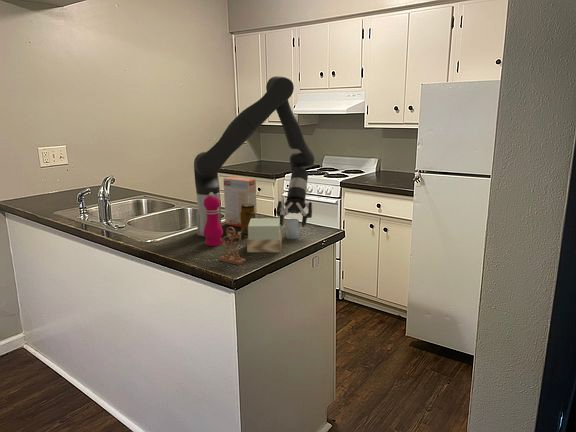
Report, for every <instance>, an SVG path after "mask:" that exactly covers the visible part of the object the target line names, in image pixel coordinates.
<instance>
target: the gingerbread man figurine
mask: <svg viewBox="0 0 576 432" xmlns="http://www.w3.org/2000/svg"><path fill="white" fill-rule="evenodd" d="M225 232H226V236H224V237H222V244H221V245H222V246H227V248H226V250H225V252H224V255H222V256H220V257H218V260H219V261H220V262H224V263H229V264H234V265H238V266H240V265H243V264H244V263H246V262H247V260H246V258H245V257H244V258H243V257H241V256H240V254H239V252H238V250H237V249H238V248H237V247H236V244H238V243H240V242H241V240H242V235H241V234H239V233H237V231H236V229H235V228H234V227H233V226H229V227H227V228H226V231H225ZM226 238H228V240H225V239H226ZM235 239H238V241H234V240H235ZM233 241H234V242H233ZM230 248H231V250H230V252H229V253H228V251H229V249H230ZM233 249H234V250H233ZM234 251H235V252H234ZM235 253H236V254H235Z"/></svg>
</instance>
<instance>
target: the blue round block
mask: <svg viewBox="0 0 576 432" xmlns="http://www.w3.org/2000/svg"><path fill="white" fill-rule="evenodd" d="M285 223H286V224H285V231H286V235H285V236H286V239H289V240H297V239H299V237H300V220H299V219H298V218H297V219H296V218H288V219H286V220H285Z"/></svg>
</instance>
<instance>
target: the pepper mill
mask: <svg viewBox="0 0 576 432" xmlns="http://www.w3.org/2000/svg"><path fill="white" fill-rule="evenodd" d="M219 206H220V207H221V200H220V201H219V199H218V198H217V197H215V196H214V194H213V193H212V192H210V193H209V197H207V198H205V200H204V207H205V208H206V210H205V211H206V212H205V213H206V214H207V222H206V225H205V228H204V236H203V237H205V245H206V246H209V247H217V246H219V245H223V244H222V239H223V237H222V236H223V234H224V230H223V228H222V224H221V225H220V222H219V220H218V213H219V209H218V207H219Z"/></svg>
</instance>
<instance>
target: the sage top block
mask: <svg viewBox="0 0 576 432" xmlns="http://www.w3.org/2000/svg"><path fill="white" fill-rule="evenodd" d="M280 231H281V224H280V217H277V218H275V217H272V218H269V217H266V218H262V217H261V218H260V217H259V218H258V217H257V218H251V220H250V222H249V225H248V237H247V238H248V240H279V236H280Z"/></svg>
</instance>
